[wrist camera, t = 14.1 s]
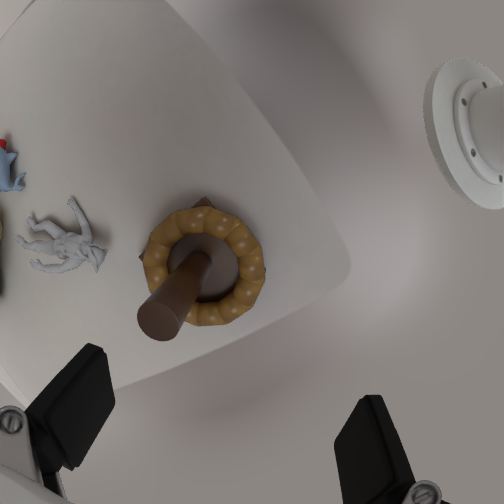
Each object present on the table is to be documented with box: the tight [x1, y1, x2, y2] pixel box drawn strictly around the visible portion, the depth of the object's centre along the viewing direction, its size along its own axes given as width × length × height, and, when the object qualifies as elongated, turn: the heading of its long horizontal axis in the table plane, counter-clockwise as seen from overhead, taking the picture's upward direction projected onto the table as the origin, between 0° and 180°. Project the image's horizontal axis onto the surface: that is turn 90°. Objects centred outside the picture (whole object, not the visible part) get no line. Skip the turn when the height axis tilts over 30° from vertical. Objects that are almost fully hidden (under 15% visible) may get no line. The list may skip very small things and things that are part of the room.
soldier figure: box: [15, 198, 108, 273], centre depth 22 cm, size 8×5×12 cm
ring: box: [143, 206, 265, 326], centre depth 22 cm, size 10×10×2 cm
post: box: [137, 197, 266, 341], centre depth 19 cm, size 8×8×11 cm
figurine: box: [0, 139, 26, 192], centre depth 20 cm, size 5×8×4 cm
